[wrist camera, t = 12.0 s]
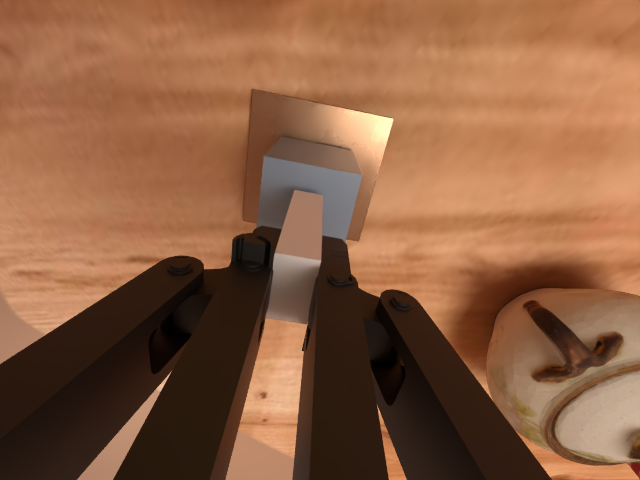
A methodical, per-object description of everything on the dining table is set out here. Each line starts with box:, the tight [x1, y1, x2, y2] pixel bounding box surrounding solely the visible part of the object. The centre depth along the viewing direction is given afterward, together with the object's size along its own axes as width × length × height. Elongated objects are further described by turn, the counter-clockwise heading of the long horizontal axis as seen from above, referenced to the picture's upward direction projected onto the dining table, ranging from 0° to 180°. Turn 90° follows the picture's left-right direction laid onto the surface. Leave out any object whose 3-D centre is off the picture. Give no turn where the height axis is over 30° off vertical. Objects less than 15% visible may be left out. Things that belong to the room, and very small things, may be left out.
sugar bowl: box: [486, 288, 640, 465], centre depth 23 cm, size 20×15×15 cm
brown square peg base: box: [243, 89, 393, 241], centre depth 20 cm, size 10×10×7 cm
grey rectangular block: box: [257, 136, 362, 242], centre depth 20 cm, size 5×5×7 cm
